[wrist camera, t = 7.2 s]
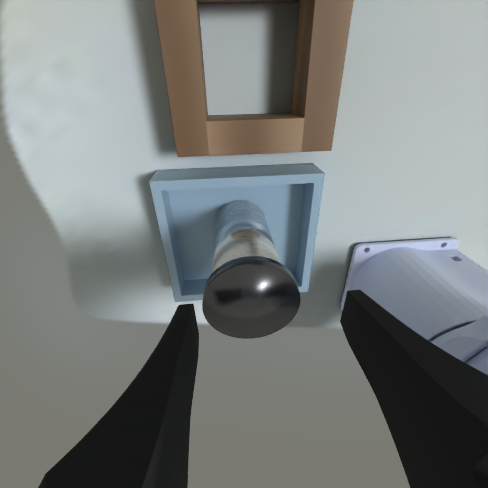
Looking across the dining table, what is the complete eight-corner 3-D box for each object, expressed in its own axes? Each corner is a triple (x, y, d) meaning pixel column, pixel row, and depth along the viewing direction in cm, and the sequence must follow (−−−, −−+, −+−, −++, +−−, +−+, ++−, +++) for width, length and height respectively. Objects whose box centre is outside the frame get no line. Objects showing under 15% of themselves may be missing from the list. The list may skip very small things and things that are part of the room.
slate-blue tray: (312, 163, 19) (324, 173, 17) (299, 273, 24) (307, 291, 22) (157, 170, 18) (149, 181, 16) (178, 282, 23) (175, 301, 21)
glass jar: (271, 193, 19) (305, 263, 12) (269, 248, 22) (295, 334, 14) (206, 195, 19) (197, 269, 11) (211, 251, 21) (206, 341, 14)
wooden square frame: (336, -46, 13) (364, -76, 11) (315, 141, 18) (331, 150, 16) (157, -47, 13) (142, -80, 10) (183, 146, 18) (177, 156, 15)
